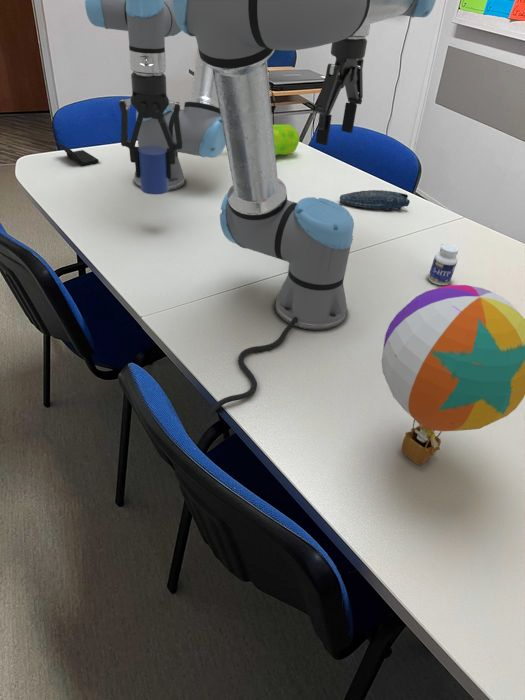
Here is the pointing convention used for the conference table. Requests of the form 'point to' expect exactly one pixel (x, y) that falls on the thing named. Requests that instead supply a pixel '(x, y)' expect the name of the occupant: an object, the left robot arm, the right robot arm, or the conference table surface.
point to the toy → (454, 363)
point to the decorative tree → (285, 139)
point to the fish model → (376, 199)
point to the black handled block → (79, 155)
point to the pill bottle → (443, 265)
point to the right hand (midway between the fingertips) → (334, 137)
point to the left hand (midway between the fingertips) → (153, 176)
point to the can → (153, 169)
